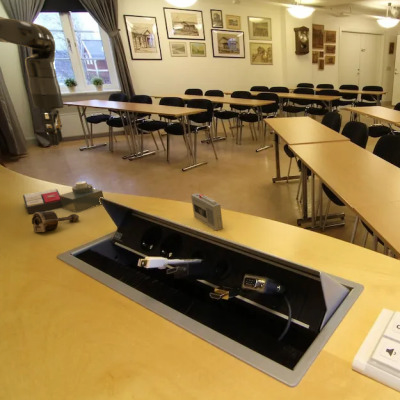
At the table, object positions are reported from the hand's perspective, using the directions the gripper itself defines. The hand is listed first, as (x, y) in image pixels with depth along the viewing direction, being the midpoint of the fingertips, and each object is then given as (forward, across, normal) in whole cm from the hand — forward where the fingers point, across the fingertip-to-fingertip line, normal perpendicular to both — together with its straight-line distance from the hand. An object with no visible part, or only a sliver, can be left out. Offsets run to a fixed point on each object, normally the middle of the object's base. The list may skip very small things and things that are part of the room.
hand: (56, 143), depth 108 cm
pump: (+20, -14, +3) cm, 25 cm away
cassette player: (+26, +27, +42) cm, 56 cm away
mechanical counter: (+28, +6, -4) cm, 29 cm away
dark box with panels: (+28, -21, -11) cm, 36 cm away
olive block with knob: (+27, -13, +2) cm, 30 cm away
